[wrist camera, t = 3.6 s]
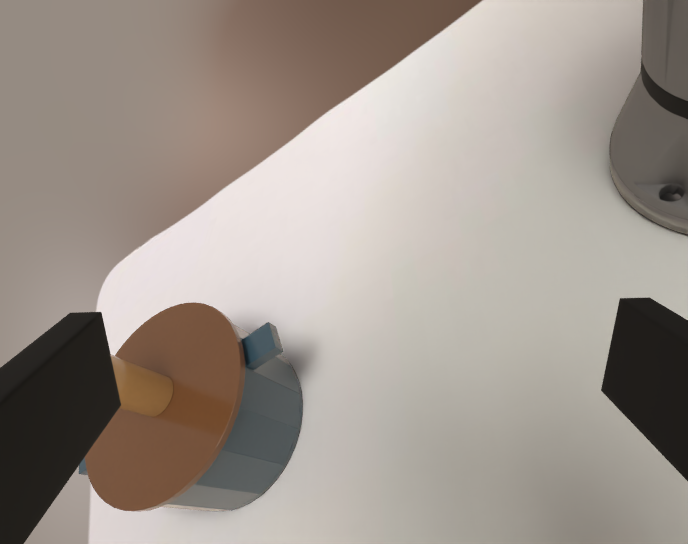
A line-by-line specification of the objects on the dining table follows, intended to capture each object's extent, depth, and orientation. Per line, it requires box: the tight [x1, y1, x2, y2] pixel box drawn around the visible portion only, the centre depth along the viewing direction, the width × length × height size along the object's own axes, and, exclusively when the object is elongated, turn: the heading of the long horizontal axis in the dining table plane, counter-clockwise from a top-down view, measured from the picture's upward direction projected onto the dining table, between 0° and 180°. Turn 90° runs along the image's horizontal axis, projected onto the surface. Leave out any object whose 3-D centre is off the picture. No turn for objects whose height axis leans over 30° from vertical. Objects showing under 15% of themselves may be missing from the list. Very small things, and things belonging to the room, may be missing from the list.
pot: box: [79, 322, 302, 511], centre depth 39 cm, size 15×20×8 cm
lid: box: [85, 303, 245, 512], centre depth 32 cm, size 16×16×9 cm
